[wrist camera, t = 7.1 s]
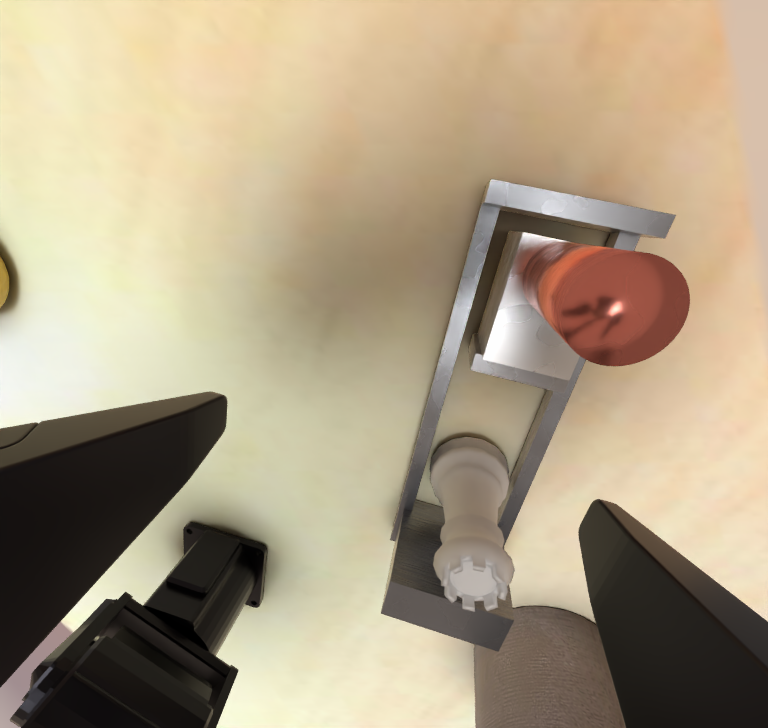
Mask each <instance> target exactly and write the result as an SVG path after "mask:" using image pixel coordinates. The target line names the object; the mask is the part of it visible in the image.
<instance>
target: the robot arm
mask: <svg viewBox="0 0 768 728" xmlns="http://www.w3.org/2000/svg"><path fill="white" fill-rule="evenodd" d="M226 419H227V398H226V397H225V396H224V395H222V394H218V393H215V392H204V393H198V394H193V395H187V396H181V397H176V398H170V399H165V400H159V401H153V402H148V403H142V404H137V405H131V406H125V407H120V408H114V409H109V410H103V411H97V412H92V413H86V414H81V415H75V416H69V417H64V418H58V419H53V420H47V421H42V422H40V423H39V424H38V423H30V424H24V425H19V426H13V427H7V428H1V429H0V687H1V686H2V685H3V684H4V683H5V682H6V681H7V680H8V678H9V677H10V676H11V675H12V674H13V673H14V672H15V671H16V670H17V669H18V668H19V666H20V665H21V664H22V663H23V662H24V661H25V660H26V659H27V658H28V657H29V655H30V654H31V653H32V652H33V651H34V650H35V649H36V648H37V647H38V646H39V644H40V643H41V642H42V641H43V640H44V639H45V638H46V637H47V636H48V635H49V633H50V632H51V631H52V630H53V629H54V628H55V627H56V626H57V625H58V623H59V622H60V621H61V620H62V619H63V618H64V617H65V616H66V615H67V614H68V613H69V611H70V610H71V609H72V608H73V607H74V606H75V605H76V604H77V603H78V602H79V600H80V599H81V598H82V597H83V596H84V595H85V594H86V593H87V592H88V591H89V589H90V588H91V587H92V586H93V585H94V584H95V583H96V582H97V581H98V580H99V578H100V577H101V576H102V575H103V574H104V573H105V572H106V571H107V570H108V569H109V567H110V566H111V565H112V564H113V563H114V562H115V561H116V560H117V559H118V558H119V556H120V555H121V554H122V553H123V552H124V551H125V550H126V549H127V548H128V547H129V545H130V544H131V543H132V542H133V541H134V540H135V539H136V538H137V537H138V536H139V534H140V533H141V532H142V531H143V530H144V529H145V528H146V527H147V526H148V525H149V523H150V522H151V521H152V520H153V519H154V518H155V517H156V516H157V515H158V514H159V512H160V511H161V510H162V509H163V508H164V507H165V506H166V505H167V504H168V503H169V501H170V500H171V499H172V498H173V497H174V496H175V495H176V494H177V493H178V492H179V490H180V489H181V488H182V487H183V486H184V485H185V484H186V482H187V481H188V480H189V479H190V477H191V476H192V475H193V474H194V472H195V471H196V470H197V468H198V467H199V465H200V464H201V463H202V461H203V460H204V459H205V457H206V456H207V455H208V453H209V452H210V451H211V449H212V448H213V446H214V445H215V444H216V442H217V441H218V440H219V438H220V437H221V436H222V434H223V432H224V430H225V427H226ZM183 531H184V556H183V558H182V559H181V560H180V561H179V562H178V564H177V565H176V566H175V567H174V568H173V570H172V571H171V572H170V573H169V574H168V576H167V577H166V579H165V580H164V581H163V582H162V583H161V585H160V586H159V587H158V588H157V589H156V591H155V592H154V593H153V594H152V596H151V597H150V598H149V599H148V600H147V602H146V603H145V604H144V605H143V606H142V605H141V604H139V603H138V602H137V601H135V600H134V599H132V597H133V596H131V595H130V594H128V593H127V592H125V593H124V594H123V595H122V596H121V597H120V598H119V599H118V600H117V599H116V600H112V599H106V600H105V601H104V602H103V603H102V604H101V605H100V606H99V607H98V608H97V609H96V610H95V611H94V612H93V613H92V615H91V616H90V617H89V618H88V619H87V620H86V621H85V622H84V623H83V624H82V625H81V626H80V627H79V628H78V629H77V630H76V631H75V632H74V633H72V635H70V636H69V637H68V638H67V639H66V640H65V641H64V642H63V643H62V644H61V645H60V646H59V647H57V649H55V650H54V651H53V652H52V653H51V654H50V655H49V656H48V657H47V658H46V659H45V660H44V661H43V662H42V663H41V664H40V665H39V666H38V667H37V668H36V669H35V670H34V671H33V673H32V676H31V683H30V690H29V691H28V693H27V694H26V695H25V696H24V698H23V699H22V700H23V701H24V702H23V704H22V705H21V706H20V707H19V709H18V710H17V711H16V712H15V714H14V715H13V716H12V717H11V719H10V721H11V722H13V723H14V724H16V725H17V726H20V727H21V728H216V726H217V724H218V721H219V719H220V716H221V714H222V711H223V709H224V706H225V703H226V701H227V698H228V696H229V693H230V691H231V688H232V686H233V683H234V681H235V678H236V676H237V673H238V669H237V668H235V667H234V666H232V665H231V666H229V665H228V664H226V663H225V662H223V661H222V660H220V659H219V658H218V657H216V655H217V653H218V651H219V649H220V648H221V646H222V644H223V642H224V640H225V639H226V637H227V635H228V633H229V632H230V630H231V628H232V626H233V624H234V623H235V621H236V619H237V617H238V616H239V614H240V612H241V610H242V608H243V607H244V605H245V604H246V605H249V606H252V607H255V608H256V607H259V606H260V604H261V602H262V598H263V588H264V578H265V567H266V557H267V549H266V547H265V546H264V545H262V544H259V543H256V542H253V541H250V540H247V539H244V538H240V537H237V536H234V535H231V534H228V533H225V532H222V531H218V530H215V529H212V528H209V527H206V526H203V525H199V524H196V523H193V522H189V523H188V524H187V525H186V526H185V527H184V529H183ZM579 541H580V547H581V553H582V558H583V564H584V570H585V575H586V581H587V587H588V592H589V597H590V602H591V606H592V610H593V614H594V618H595V621H596V625H597V628H598V632H599V635H600V639H601V642H602V646H603V649H604V653H605V656H606V660H607V664H608V667H609V671H610V674H611V678H612V681H613V685H614V688H615V692H616V695H617V699H618V702H619V706H620V709H621V713H622V716H623V720H624V724H625V727H626V728H768V622H767V621H766V620H765V619H764V618H762V617H761V616H760V615H758V614H757V613H756V612H755V611H753V610H752V609H751V608H749V607H748V606H747V605H746V604H744V603H743V602H742V601H740V600H739V599H738V598H737V597H735V596H734V595H733V594H731V593H730V592H729V591H727V590H726V589H725V588H724V587H722V586H721V585H720V584H718V583H717V582H716V581H715V580H713V579H712V578H711V577H709V576H708V575H707V574H706V573H704V572H703V571H702V570H700V569H699V568H698V567H697V566H695V565H694V564H693V563H691V562H690V561H689V560H688V559H686V558H685V557H684V556H682V555H681V554H680V553H679V552H677V551H676V550H675V549H673V548H672V547H671V546H670V545H668V544H667V543H666V542H664V541H663V540H662V539H661V538H659V537H658V536H657V535H655V534H654V533H653V532H652V531H650V530H649V529H648V528H646V527H645V526H644V525H643V524H641V523H640V522H639V521H637V520H636V519H635V518H634V517H632V516H631V515H630V514H628V513H627V512H626V511H624V510H623V509H622V508H621V507H619V506H618V505H617V504H614V503H611V502H608V501H604V500H600V499H597V500H594V501H593V502H592V504H591V505H590V507H589V509H588V511H587V513H586V515H585V517H584V519H583V521H582V523H581V525H580V527H579Z"/></svg>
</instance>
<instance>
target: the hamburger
mask: <svg viewBox="0 0 768 728" xmlns="http://www.w3.org/2000/svg"><path fill="white" fill-rule="evenodd" d="M8 292H9V275H8V272H7V269H6V266H5V264H4V262H3V260H2V258H1V257H0V308H1V307H2V305H3V304H4V303H5V301H6V299H7V296H8Z"/></svg>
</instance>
